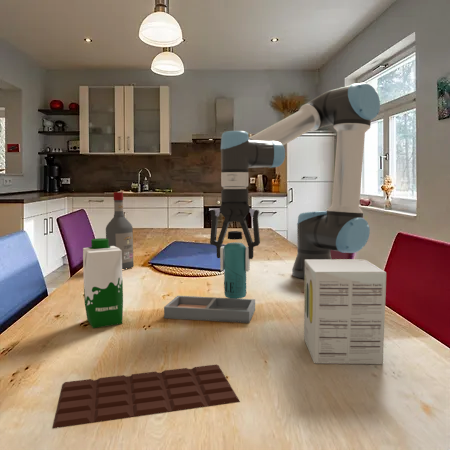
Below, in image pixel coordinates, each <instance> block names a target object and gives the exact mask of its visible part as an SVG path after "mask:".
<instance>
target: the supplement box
mask: <svg viewBox="0 0 450 450" xmlns="http://www.w3.org/2000/svg"><path fill="white" fill-rule="evenodd" d="M386 293H387V272H386V271H385V270H383V269H382V268H379V267H378V266H377V265H375V264H373V263H372V262H370V261H369V260H367V259H360V258H359V259H358V258H357V259H356V258H355V259H354V258H353V259H350V258H349V259H347V258H346V259H345V258H343V259H341V258H339V259H337V258H335V259H334V258H333V259H305V279H304V295H303V296H304V304H303V305H304V309H303V312H304V313H303V315H304V316H303V319H304V320H303V321H304V322H303V339H304V342H305V344H306V347H307V349H308V352H309V354H310V357H311V359H312V362H313V363H314V364H340V365H341V364H344V365H345V364H346V365H383V364H384V344H385V343H384V341H385V320H386V317H385V315H386V299H387V298H386V297H387V295H386Z"/></svg>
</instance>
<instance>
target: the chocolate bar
mask: <svg viewBox="0 0 450 450" xmlns="http://www.w3.org/2000/svg"><path fill="white" fill-rule="evenodd" d="M240 402H241V401H240V399H239V397H238V396H237V394H236V392H235V391H234V389H233V387H232V386H231V384H230V382H229V381H228V379H227V377H226V375H225V374H224V372H223V371H222V369H221V367H220V366H219V365H218V364H216V363H215V364H209V365H200V366H194V367H192V368H187V367H183V368H175V369H168V370H166V369H165V370H163V371H162V372H161V371H160V372H157V371H149V372H141V373H132V374H131V375H129V376H128V375H124V374H123V375H115V376H113V375H112V376H107V377H106V376H104V377H99V378H97V379H92V378H89V379H79V380H70V381H65V382H63V383H62V385H61V389H60V394H59V399H58V403H57V407H56V412H55V416H54V420H53V425H52V429H57V427H59V428H64V427H65V428H66V427H72V426H78V425H85V424H93V423H100V422H107V421H113V420H114V421H115V420H121V419H122V420H123V419H127V418H134V417H142V416H148V415H156V414H163V413H164V414H165V413H169V412H170V413H171V412H177V411H184V410H185V411H186V410H191V409H199V408H206V407H213V406H220V405H221V406H222V405H226V404H235V403H240Z"/></svg>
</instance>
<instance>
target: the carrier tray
mask: <svg viewBox="0 0 450 450" xmlns="http://www.w3.org/2000/svg"><path fill="white" fill-rule="evenodd" d="M255 311H256V298H255V299H254V298H227V297H216V296H215V297H211V296H192V295H176V296H175V297H174V298H173V299H172V300H170V301H169V302H168V303H167V304H166V305H165V306H164V307H163V318H164V319H174V320H189V321H190V320H192V321H193V320H194V321H206V322H207V321H208V322H224V323H225V322H226V323H243V324H250V323H251V320H252V318H253V315H254V313H255Z"/></svg>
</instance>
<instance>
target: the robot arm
mask: <svg viewBox="0 0 450 450" xmlns="http://www.w3.org/2000/svg"><path fill="white" fill-rule="evenodd" d="M380 110H381V100H380V97H379V94H378V92H377V90H376V88H374V87H373V86H372V85H371V84H369V83H367V82H360V83H352V84H350V85H347V86H343V87H338V88H335V89H330V90H327V91H325V92H324V93H322V94H320V95H318V96H316V97H315V98H313V99H312V100H310V101H308V102H307V103H305V104H302V105H301V106H300V108H299V110H298V111H296V112H294V113H293V114H290V115H288V116H287V117H285V118H283V119H281V120H279V121H277V122H275V123H273V124H272V125H270V126H268V127H266V128H265V129H263V130H261V131H259V132H257V133H255V134H254V135H251V136H250V137H249V132H247V131H244V130H229V131H228V130H227V131H224V132H222V134H221V139H220V169H221V173H220V174H221V176H220V178H221V179H220V180H221V181H220V182H221V183H220V184H221V185H220V186H221V187H222V190H221V191H220V194H221V196H220V197H221V198H220V199H221V200H220V201H221V203H220V207H219V208H216V209H215V208H213V209H211V210H210V211H209V212H210V216H211V224H210V225H211V226H210V238H209V244H210V245H212V246H215V247H216V258H217V259H219V262H220V265H219V266H220V267H219V268H220V269H219V270H220V271H224V247H225V245H223V243H224V240H225V237H226V234H227V231H228V228H229V225H230V223H232V222H237V223H239V224H240V226H241V230H242V233H243V235H244V239H245V241H246V243H247V246H246V272H249V271H250V266H251V265H250V264H251V263H250V261H251V260H253V259H254V248H255V247H258V246H259V245H260V244H261V238H260V237H261V236H260V228H259V215H260V210H259V209H254V208H251V206H250V203H249V189H248V188H247V187H249V169H256V168H269V169H272V168H278V167H280V166H282V165H283V163H284V162H285V159H286V149H285V145H287V144H288V143H290V142H292V141H294V140H295V139H298V138H299V137H300V136H302V135H305V133H308V132H309V131H310V132H315V131H317V130H319V129H321V128H323V127H329V126H332V127H333V129H334V130H335V131H336V134H337V135H336V147H335V160H334V161H335V163H334V174H333V175H334V176H333V187H332V199H331V200H332V201H331V205H330V207H328V208H327V209H326V210H321V211H319V210H318V211H308V212H301V213H299V214H298V217H297V224H296V226H297V230H296V231H297V234H296V235H297V245H296V246H297V247H296V248H297V253H296V257H295V259H294V263H293V266H292V276H293V277H295V278H298V279H304V280H305V259H332V256H331V251H334V252H340V253H343V254H344V253H345V254H346V253H348V254H354V253H357V252H360V251H361V250H362V249H363V247H365V246H366V245H367V242H368V241H369V237H370V234H371V232H370V231H371V229H370V225H369V222H368V221H367V220H366V219H365V218H364V211H363V210H362V208H360V198H361V186H362V185H361V184H362V171H363V163H364V148H365V147H364V146H365V136H366V132H368V131H369V130H370V128H371V126H372V125H371V122H372V120H374V119H375V118H377V116H378V115H379V113H380ZM220 213H221V214H222V216H223V217H224V219H223V223H222V225H221V229H220V232H219V236H218V235H217V234H218V224H219V223H218V221H219V216H220ZM249 213H250V217H251V218H252V229H253V237H252V235H251V233H250V230H249V227H248V224H247V220H246V217H247V216H248V214H249ZM217 236H218V237H217ZM252 238H253V239H252Z"/></svg>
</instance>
